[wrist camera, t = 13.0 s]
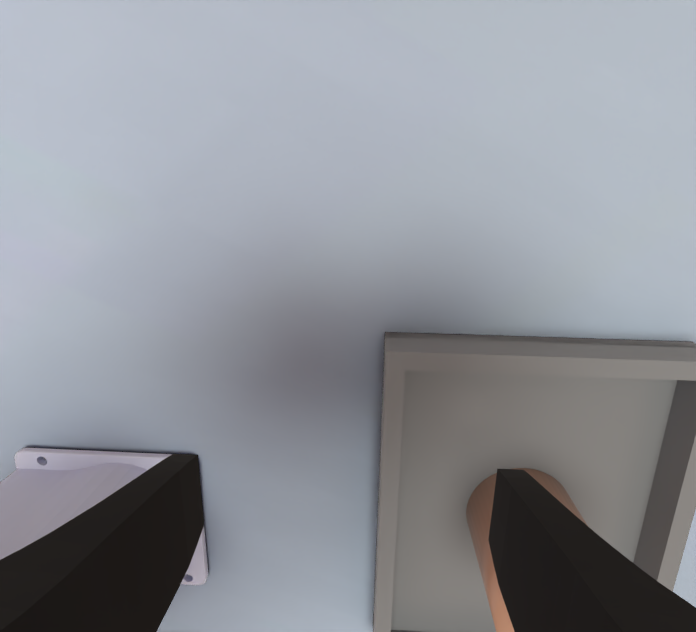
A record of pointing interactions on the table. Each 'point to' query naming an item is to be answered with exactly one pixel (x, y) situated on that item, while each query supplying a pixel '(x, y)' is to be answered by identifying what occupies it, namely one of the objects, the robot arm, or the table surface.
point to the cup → (479, 530)
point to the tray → (525, 457)
